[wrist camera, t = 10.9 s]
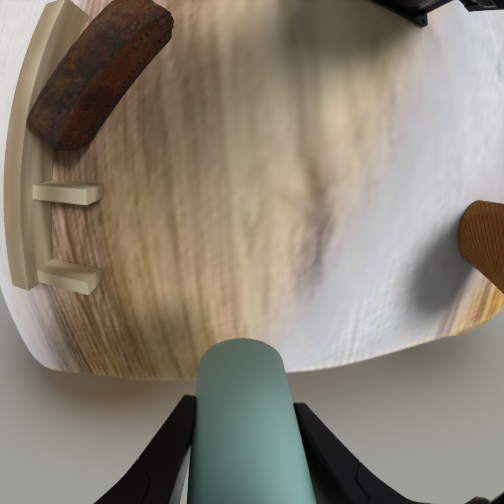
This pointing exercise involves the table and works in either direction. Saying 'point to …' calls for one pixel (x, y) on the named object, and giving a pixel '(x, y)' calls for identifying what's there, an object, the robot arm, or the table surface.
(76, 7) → the backstop fence
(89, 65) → the brick
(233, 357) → the dowel
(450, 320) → the table surface
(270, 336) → the table surface
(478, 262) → the disposable coffee cup
